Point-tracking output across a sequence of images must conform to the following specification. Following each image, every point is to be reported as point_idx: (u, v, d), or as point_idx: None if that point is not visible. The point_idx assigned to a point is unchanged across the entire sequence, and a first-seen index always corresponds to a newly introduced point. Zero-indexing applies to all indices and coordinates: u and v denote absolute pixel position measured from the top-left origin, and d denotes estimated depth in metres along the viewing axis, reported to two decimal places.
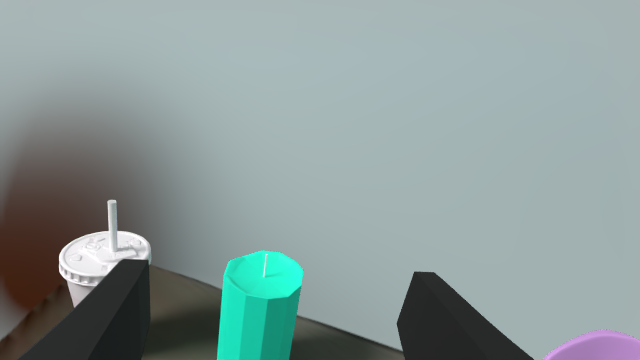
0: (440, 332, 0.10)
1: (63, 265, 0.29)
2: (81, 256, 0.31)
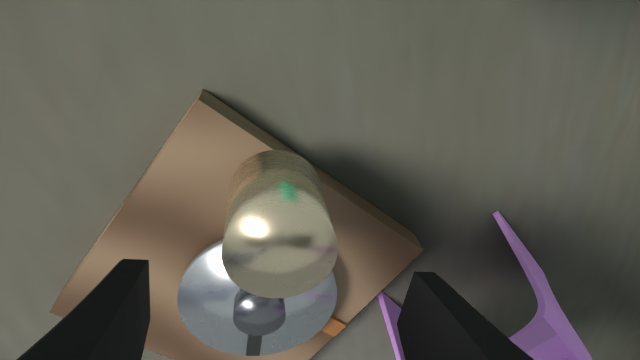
0: (440, 332, 0.10)
1: None
2: None
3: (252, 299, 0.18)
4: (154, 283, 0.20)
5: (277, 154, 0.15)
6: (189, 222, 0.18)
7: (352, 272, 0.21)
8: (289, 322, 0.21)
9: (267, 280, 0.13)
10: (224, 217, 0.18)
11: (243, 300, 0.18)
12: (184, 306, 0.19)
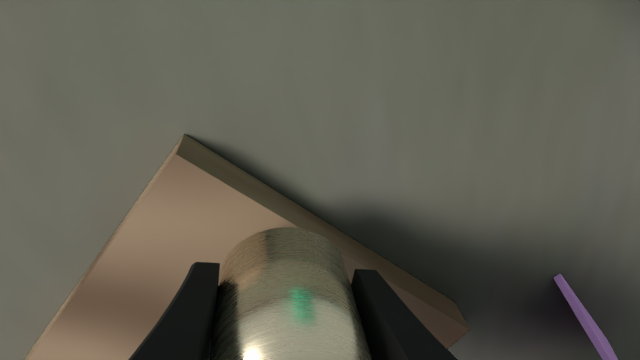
0: (372, 331, 0.10)
1: None
2: None
3: None
4: None
5: (286, 236, 0.11)
6: None
7: None
8: None
9: None
10: None
11: None
12: None
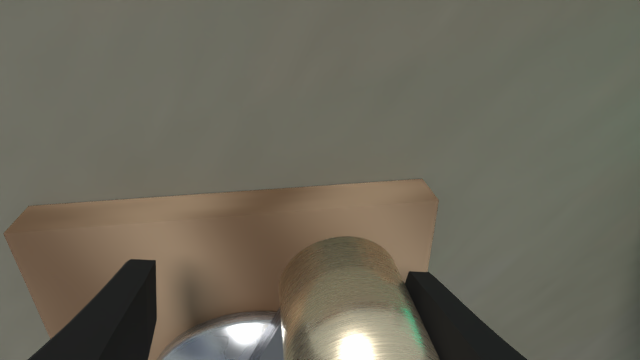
0: (434, 332, 0.10)
1: None
2: None
3: None
4: (170, 300, 0.14)
5: (367, 247, 0.11)
6: None
7: None
8: None
9: None
10: None
11: None
12: None
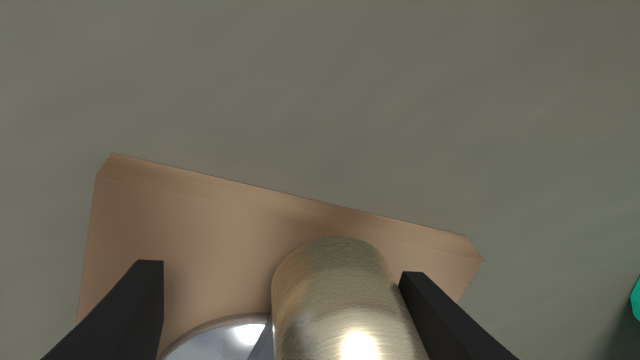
0: (426, 332, 0.10)
1: None
2: None
3: None
4: (218, 285, 0.14)
5: (357, 247, 0.11)
6: None
7: None
8: None
9: None
10: None
11: None
12: None
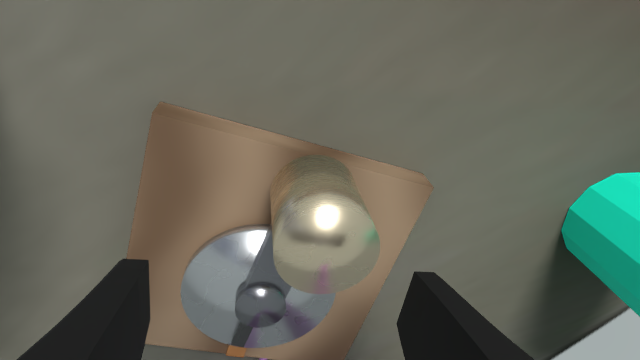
0: (440, 332, 0.10)
1: None
2: None
3: (259, 291, 0.19)
4: (234, 201, 0.19)
5: (328, 160, 0.16)
6: None
7: (302, 336, 0.23)
8: (281, 320, 0.21)
9: (307, 274, 0.14)
10: None
11: (250, 290, 0.19)
12: (187, 285, 0.19)
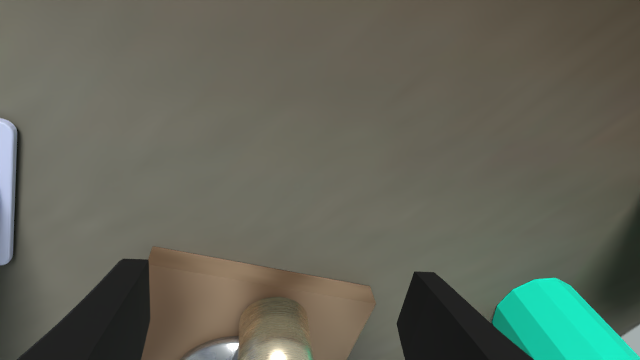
0: (440, 332, 0.10)
1: None
2: None
3: None
4: (213, 320, 0.23)
5: (283, 303, 0.21)
6: None
7: None
8: None
9: None
10: None
11: None
12: None
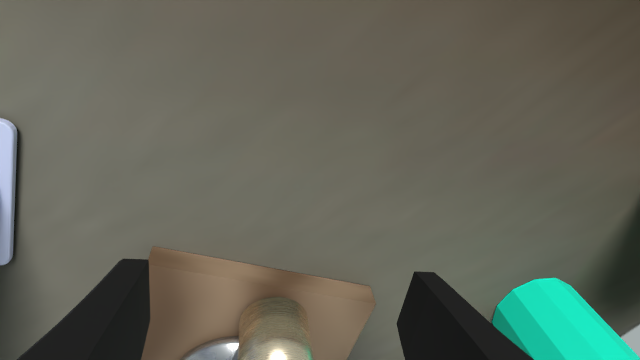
0: (440, 332, 0.10)
1: None
2: None
3: None
4: (213, 320, 0.23)
5: (283, 303, 0.21)
6: None
7: None
8: None
9: None
10: None
11: None
12: None
